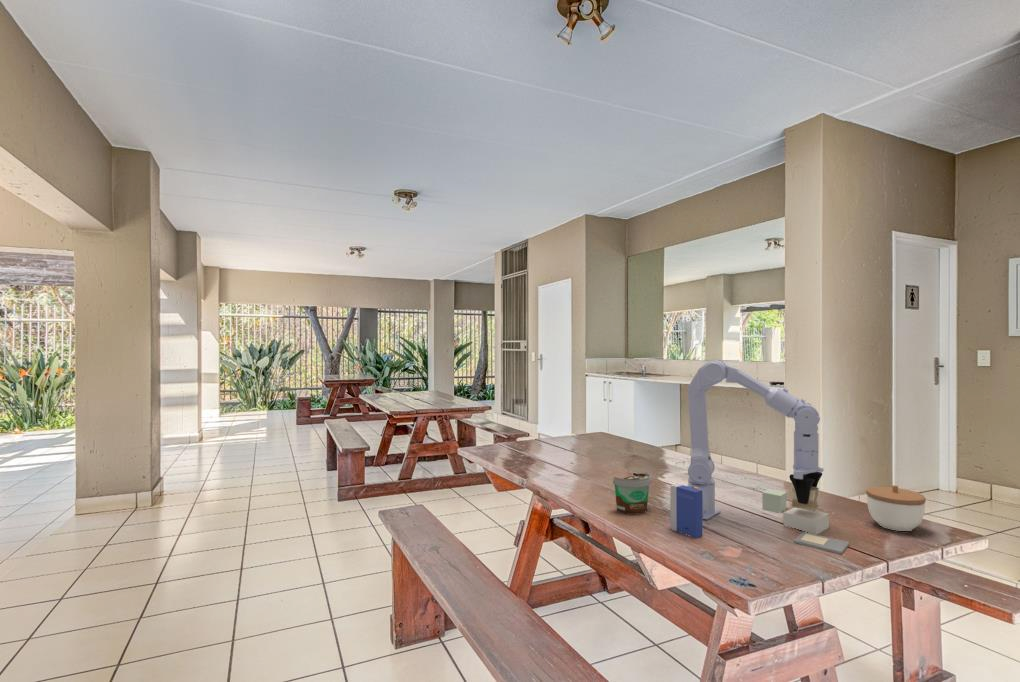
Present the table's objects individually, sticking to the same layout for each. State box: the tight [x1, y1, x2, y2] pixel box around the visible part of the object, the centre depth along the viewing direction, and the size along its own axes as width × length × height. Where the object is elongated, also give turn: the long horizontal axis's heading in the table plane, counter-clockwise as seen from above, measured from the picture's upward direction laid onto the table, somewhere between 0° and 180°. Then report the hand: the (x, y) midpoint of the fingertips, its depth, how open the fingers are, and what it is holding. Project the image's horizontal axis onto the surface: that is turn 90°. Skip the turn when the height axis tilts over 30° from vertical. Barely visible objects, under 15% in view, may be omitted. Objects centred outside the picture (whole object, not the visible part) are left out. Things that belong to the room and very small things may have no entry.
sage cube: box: [762, 488, 787, 513], centre depth 153 cm, size 5×5×5 cm
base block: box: [783, 507, 830, 535], centre depth 139 cm, size 8×8×4 cm
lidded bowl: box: [865, 484, 926, 532], centre depth 138 cm, size 13×13×11 cm
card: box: [793, 531, 850, 555], centre depth 127 cm, size 8×10×1 cm
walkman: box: [669, 483, 703, 539], centre depth 135 cm, size 8×3×12 cm, turn 35°
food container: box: [612, 472, 653, 515], centre depth 152 cm, size 12×6×10 cm, turn 114°
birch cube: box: [791, 486, 820, 511], centre depth 139 cm, size 5×5×5 cm
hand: (806, 501), depth 139 cm, fingers closed on birch cube, 5 cm apart
